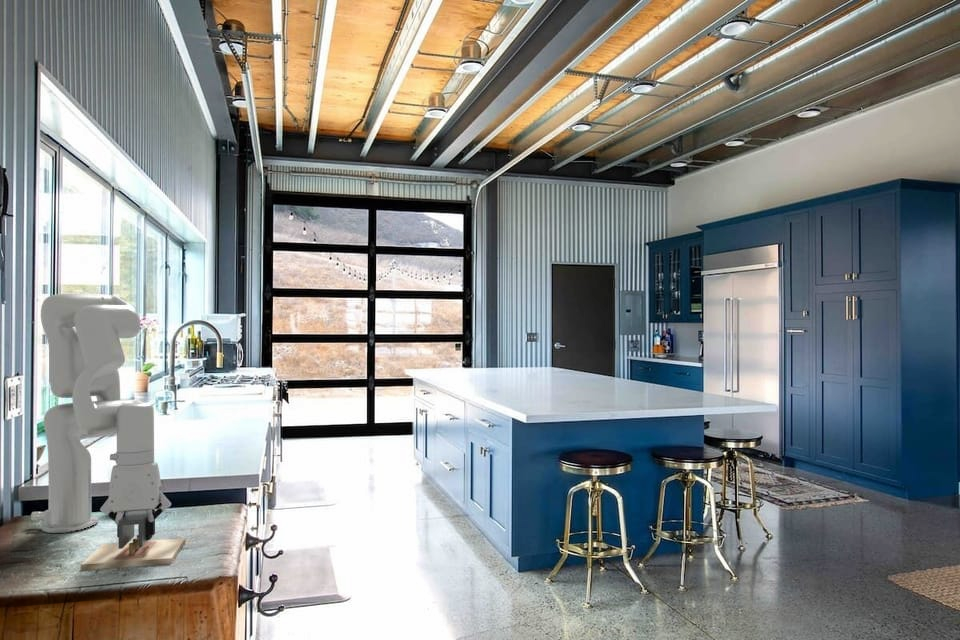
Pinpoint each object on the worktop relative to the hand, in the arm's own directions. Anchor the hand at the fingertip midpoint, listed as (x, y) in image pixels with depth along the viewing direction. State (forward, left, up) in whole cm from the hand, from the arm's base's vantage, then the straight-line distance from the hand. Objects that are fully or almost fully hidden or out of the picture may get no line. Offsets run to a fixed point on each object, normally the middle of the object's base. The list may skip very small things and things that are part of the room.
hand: (136, 538), depth 154 cm
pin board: (0, 0, -4) cm, 4 cm away
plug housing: (0, 0, -1) cm, 1 cm away
